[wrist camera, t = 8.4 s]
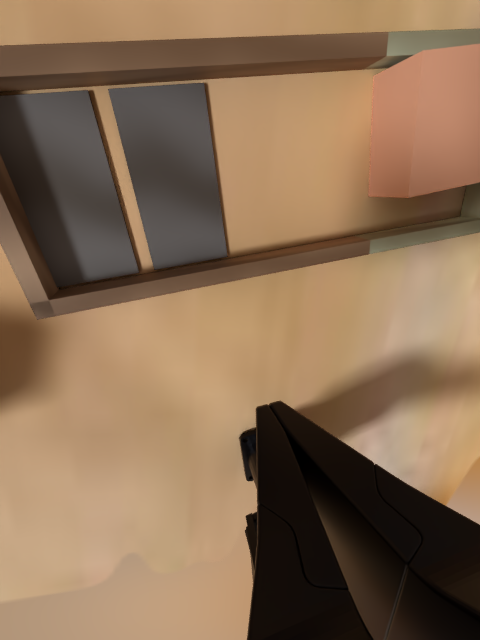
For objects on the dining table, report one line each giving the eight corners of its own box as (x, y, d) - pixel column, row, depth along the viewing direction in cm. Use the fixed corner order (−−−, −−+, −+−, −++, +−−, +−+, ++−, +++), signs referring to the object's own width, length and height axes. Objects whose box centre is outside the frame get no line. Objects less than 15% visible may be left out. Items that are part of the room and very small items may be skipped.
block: (445, 179, 22) (499, 178, 19) (366, 196, 21) (408, 198, 18) (462, 64, 19) (531, 37, 16) (370, 77, 18) (423, 50, 15)
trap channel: (476, 225, 25) (529, 231, 21) (48, 307, 18) (23, 335, 15) (521, 40, 19) (603, 7, 16) (-61, 67, 13) (-140, 23, 10)
